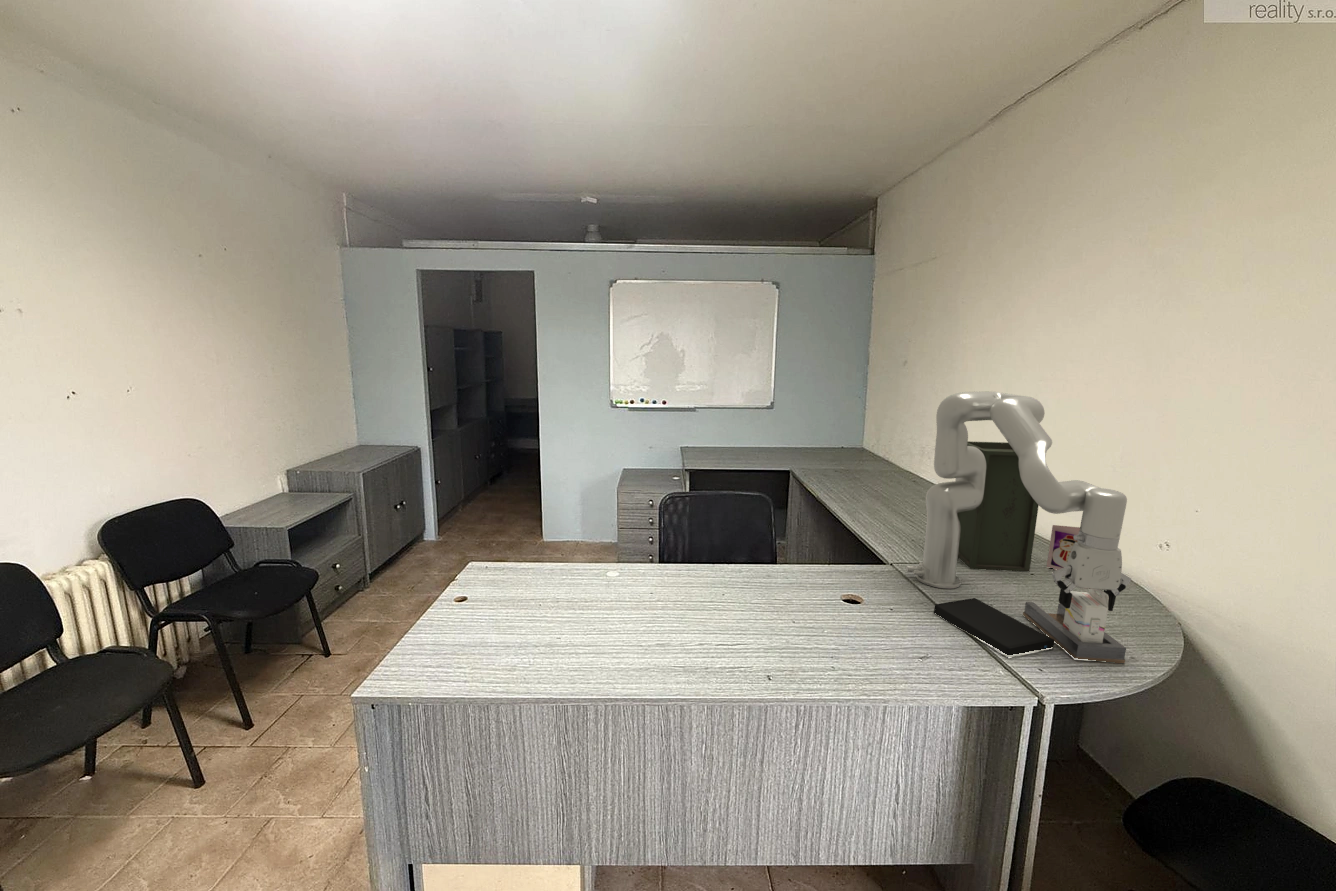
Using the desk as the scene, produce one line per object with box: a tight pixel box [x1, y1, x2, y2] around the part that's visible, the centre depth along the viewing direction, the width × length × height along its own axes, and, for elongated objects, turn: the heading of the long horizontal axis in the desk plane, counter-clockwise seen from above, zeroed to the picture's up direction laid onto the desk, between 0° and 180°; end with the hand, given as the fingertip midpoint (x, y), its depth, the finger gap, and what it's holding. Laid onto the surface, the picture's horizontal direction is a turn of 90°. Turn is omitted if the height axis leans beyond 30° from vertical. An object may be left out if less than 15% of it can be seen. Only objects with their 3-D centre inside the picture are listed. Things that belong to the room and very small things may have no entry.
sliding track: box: [1022, 601, 1127, 664], centre depth 137 cm, size 11×22×4 cm, turn 175°
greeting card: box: [1046, 524, 1080, 570], centre depth 178 cm, size 11×7×15 cm, turn 39°
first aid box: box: [957, 440, 1047, 572], centre depth 185 cm, size 18×18×40 cm
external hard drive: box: [933, 597, 1055, 655], centre depth 141 cm, size 14×23×3 cm, turn 18°
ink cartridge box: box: [1063, 589, 1109, 643], centre depth 132 cm, size 9×5×15 cm, turn 170°
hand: (1085, 607), depth 132 cm, fingers open, 9 cm apart
